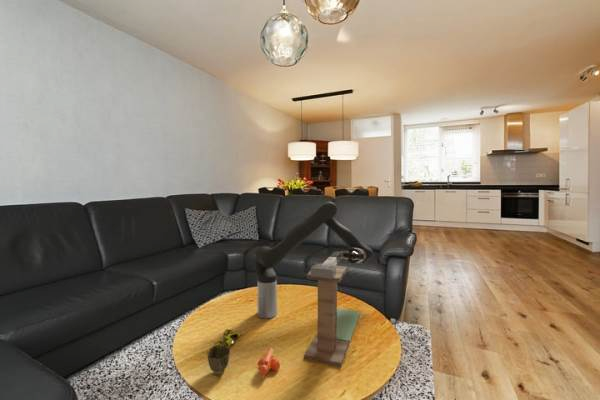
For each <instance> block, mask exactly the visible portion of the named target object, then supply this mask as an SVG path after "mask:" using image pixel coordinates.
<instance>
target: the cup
mask: <svg viewBox="0 0 600 400" xmlns="http://www.w3.org/2000/svg"><path fill="white" fill-rule="evenodd" d="M217 345H218V347H216V346H215V345H213V346H212V347H210V348H209V351H206V356H207V361H208V366H209V368H210V370H211V371H212V372H213V374H214V376H217V375H219V376H222V375H224V372H225V371H226V369H227V367H228V365H229V361H230V351H231V348H230V347H227V345H222V346H221V347H220V345H219V344H217ZM221 374H222V375H221Z"/></svg>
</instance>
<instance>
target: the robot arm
mask: <svg viewBox="0 0 600 400" xmlns="http://www.w3.org/2000/svg"><path fill="white" fill-rule="evenodd" d="M337 213H338V206H337V204H336V203H334V202H333V201H326V202H323V203H322V204H321V205H320V206H319V207H318V208H317V209H316V210H315V211H314V212H313V213H311V214H310V215H309V216H306V217H305V218H303V219H301V220H300V221H299V222H297V223H296V224H294V225H293V226H292V227H290V228H289V229H288V230H287V232H286V234H285V236H284V238H283V239H282V240H281V241H280V242H279V243H277V244H276V245H275V246H273V247H269V246H267V245H263V246H261V247H259V248H258V249H257V250H256V252H255V257H254V259H255V261H254V263H255V266H254V267H255V274H256V278H257V294H256V296H257V297H256V298H257V299H256V300H257V301H256V303H257V304H256V306H257V308H256V309H257V311H256V312H257V318H259V319H271V318H275V317H276V316H277V315H278V302H277V301H278V292H277V291H278V290H277V289H278V288H277V287H278V285H277V284H278V283H277V282H278V281H277V279H278V278H277V273H276V272H275V270H274V267H276V266H277V265H278V264H279V263H281V262H282V261H283V259H285V257H286V256H287V255H289V254H290V253H291V252H292V251H293V250H294V249H296V248H297V247H298V246H299V245H301V244H302V243H304V241H306V240H307V239H308V238H309V237H311V235H312V234H314V233H315V231H316V230H318V229H319V227H321V225H323V224H325V225H326V226H327V227H328V228H330V230H331V231H333V232H334V233H335V234H336V235H337V236H338V238H339V239H341V241H342V242H343V243H344V244H345V246H347V247H348V248H347V249H346V250H341V251H336V250H334V251H333V253H334V252H340V253H341V260H342V259H343V260H344V259H345V260H346V261H347V262H348V263H350V264H358V265H364V264H366V263H367V262H368V261H370V260H371V259H372V258H374V255H375V254H374V251H373V249H372V248H370V247H369V246H367V245H366V244H365V243H364V242H362V241H361V240H360V239H359V238H358V237H357V236H356V235H355V234H354V232H353V231H351V230H350V229H349V228H347V226H344V225H343V224H341V223H340V222H339V221H338V220H336V218H335V216H336V215H337Z"/></svg>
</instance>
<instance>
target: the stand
mask: <svg viewBox="0 0 600 400" xmlns="http://www.w3.org/2000/svg"><path fill="white" fill-rule="evenodd" d="M322 264H323V263H317V264H316V265H322ZM335 267H336V275H335V277H334V278H333V279H330V278H322V277H314V276H311V270H310V271H308V273H306V279H308V280H314V281H317V333H318V336H317V334H316V335H315V334H314V337H313V339H312V340H311V342H310V344H309V345H308V347H307V349H306V350H305V352H304V354H303V359H305V360H309V361H314V362H318V363H323V364H327V365H330V366H335V367H340V368H342V366H343V363H344V361H345V358H346V355H347V351H348V349H349V347H350V346H349V345H350V343H349V342H347V341H342V340H337V308H338V284H339V283H341V280H343V278H344V277H345V275H346V273H347V272H348V266H343V265H336V266H335Z"/></svg>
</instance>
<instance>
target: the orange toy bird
mask: <svg viewBox="0 0 600 400" xmlns="http://www.w3.org/2000/svg"><path fill="white" fill-rule="evenodd" d="M273 352H274V348H271V347H270V349H269V352H268V353H265V354H264V356H263V358H260V360H259V361H258V363H257V370H258V371H259V373H260V374H261V375H262V379H263V378H265V377H266V376H267V374H268V373H269V371H270V370H272V371H278V370H279V369H280V367H281V363H280V361H279V359H277V358H274V356H273Z"/></svg>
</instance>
